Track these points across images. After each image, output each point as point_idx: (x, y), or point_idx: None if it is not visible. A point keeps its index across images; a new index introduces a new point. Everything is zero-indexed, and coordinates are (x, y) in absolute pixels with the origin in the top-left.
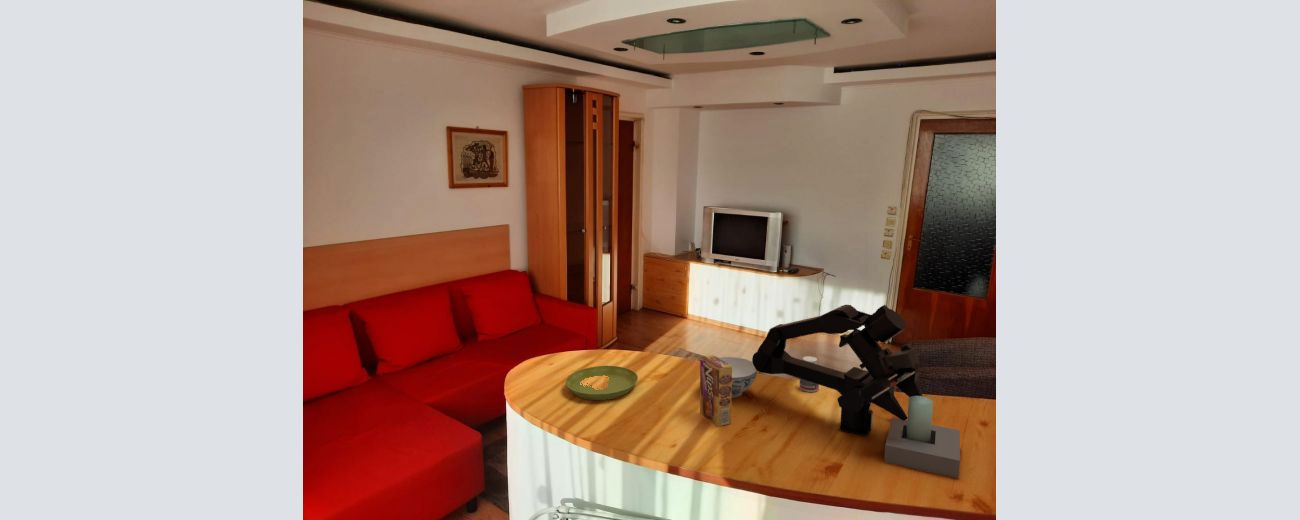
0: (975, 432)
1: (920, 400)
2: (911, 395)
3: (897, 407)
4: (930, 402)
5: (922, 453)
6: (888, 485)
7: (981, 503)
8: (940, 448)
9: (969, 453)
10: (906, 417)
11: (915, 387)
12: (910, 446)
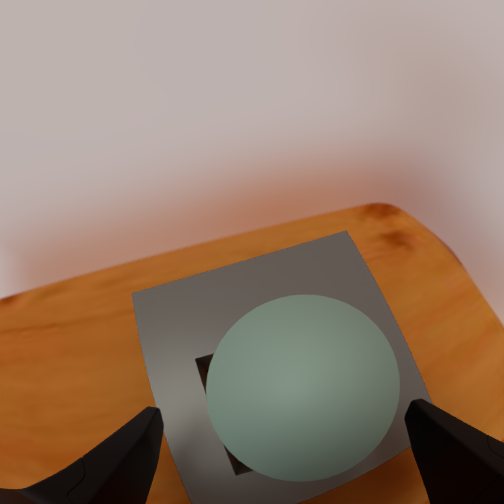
0: (50, 301)
1: (313, 390)
2: (137, 501)
3: (477, 434)
4: (286, 316)
5: (395, 323)
6: (473, 352)
7: (377, 204)
8: (324, 295)
9: (172, 281)
10: (422, 400)
11: (100, 496)
12: None
